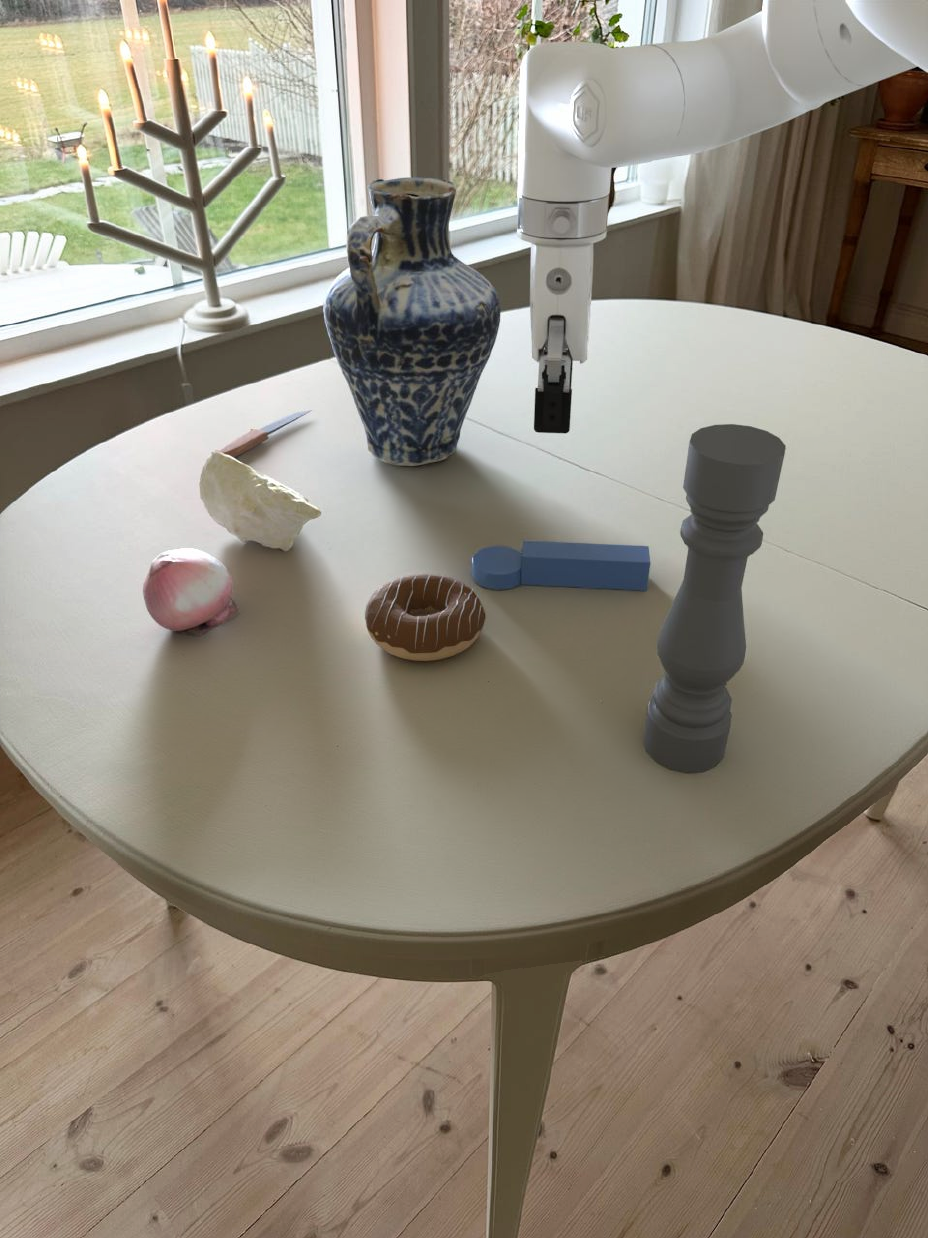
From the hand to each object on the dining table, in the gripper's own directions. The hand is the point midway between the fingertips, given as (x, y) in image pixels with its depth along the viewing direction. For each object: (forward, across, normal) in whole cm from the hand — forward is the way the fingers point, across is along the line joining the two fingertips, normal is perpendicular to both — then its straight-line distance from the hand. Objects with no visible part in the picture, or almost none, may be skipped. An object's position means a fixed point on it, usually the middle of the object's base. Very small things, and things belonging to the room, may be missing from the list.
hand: (553, 409), depth 87 cm
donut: (+14, -17, +10) cm, 25 cm away
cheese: (+14, -2, +27) cm, 31 cm away
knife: (+14, +21, +36) cm, 44 cm away
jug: (+14, +18, +16) cm, 29 cm away
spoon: (+14, -7, -1) cm, 16 cm away
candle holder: (+14, -30, -12) cm, 35 cm away
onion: (+14, -18, +31) cm, 38 cm away
